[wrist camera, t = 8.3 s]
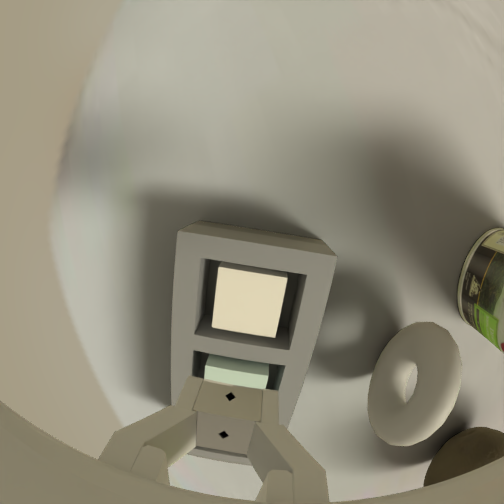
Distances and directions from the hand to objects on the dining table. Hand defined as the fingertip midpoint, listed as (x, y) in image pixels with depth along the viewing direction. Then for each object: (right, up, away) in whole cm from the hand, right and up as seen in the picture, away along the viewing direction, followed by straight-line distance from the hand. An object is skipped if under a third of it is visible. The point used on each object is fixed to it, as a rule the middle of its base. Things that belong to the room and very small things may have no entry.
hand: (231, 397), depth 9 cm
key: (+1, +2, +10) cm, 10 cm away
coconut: (+29, -22, +16) cm, 40 cm away
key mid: (0, -4, +10) cm, 11 cm away
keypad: (0, -3, +14) cm, 14 cm away
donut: (+13, -4, +13) cm, 19 cm away
